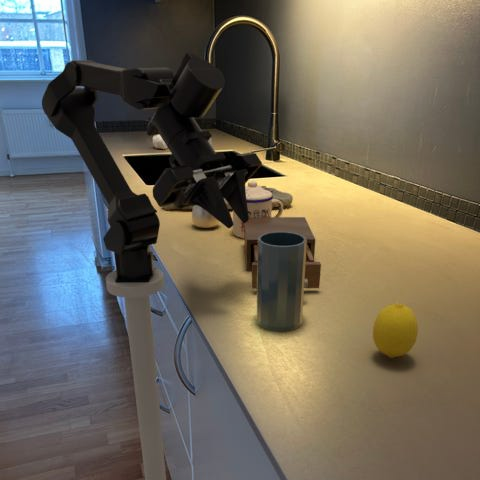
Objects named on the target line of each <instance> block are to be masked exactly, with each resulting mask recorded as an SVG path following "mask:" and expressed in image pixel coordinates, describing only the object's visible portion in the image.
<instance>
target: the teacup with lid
mask: <svg viewBox="0 0 480 480" xmlns="http://www.w3.org/2000/svg"><path fill="white" fill-rule="evenodd" d="M260 186H261V185H258V182H257V181H255V180H248V181H247V185H245V191H246V200H247V207H248V215H249V218H253V217H272V210H273V208H272V203H278V204H279V207H278V211H277V213H276V214H275V215H274V217H282V214H283V212H284V206H283V204H282V203H281V202H280V201H279V200H277V199H272V198H273V196H272V193H271V192H270V191H268V190H264V189H263V188H262V187H260ZM232 220H233V224H234V225H233V226H232V233H233V236H236V237H237V238H240V239H244V227H245V223H243V222H242V221H241V220H240V219H239V217H238V216H237V215H236V213H235V212H234V211H233V210H232Z"/></svg>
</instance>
